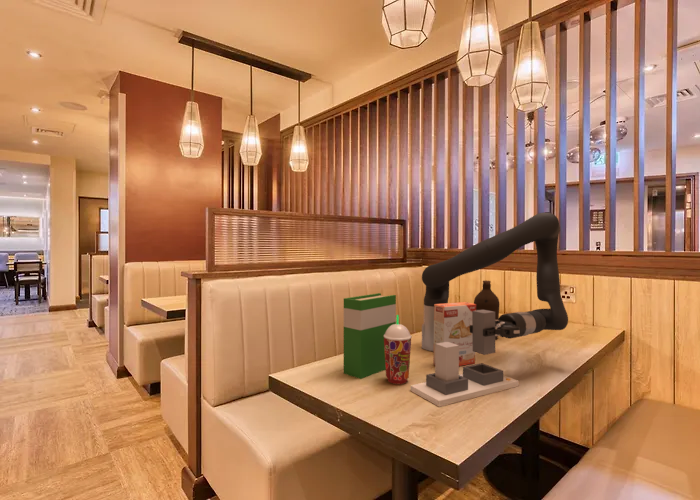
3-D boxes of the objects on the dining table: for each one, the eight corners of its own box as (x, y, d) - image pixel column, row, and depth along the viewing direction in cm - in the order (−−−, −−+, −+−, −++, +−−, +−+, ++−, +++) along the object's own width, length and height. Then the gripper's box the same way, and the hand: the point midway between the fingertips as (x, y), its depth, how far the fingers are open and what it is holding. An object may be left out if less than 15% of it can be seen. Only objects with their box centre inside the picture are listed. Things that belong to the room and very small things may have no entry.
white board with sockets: (410, 390, 108) (410, 343, 108) (486, 373, 122) (486, 331, 122) (439, 406, 98) (439, 354, 97) (518, 385, 112) (518, 339, 112)
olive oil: (504, 340, 164) (504, 281, 164) (480, 341, 162) (481, 282, 162) (491, 334, 175) (491, 279, 174) (469, 335, 173) (469, 279, 172)
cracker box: (444, 369, 126) (444, 306, 126) (432, 364, 131) (432, 303, 131) (476, 364, 132) (477, 303, 132) (464, 359, 137) (464, 301, 137)
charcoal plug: (472, 351, 114) (472, 310, 114) (483, 349, 116) (483, 309, 116) (484, 355, 110) (484, 313, 110) (495, 352, 112) (495, 311, 112)
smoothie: (404, 388, 110) (404, 318, 110) (378, 382, 114) (378, 315, 114) (415, 379, 117) (415, 314, 117) (390, 374, 122) (391, 311, 121)
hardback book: (378, 361, 135) (378, 293, 135) (395, 365, 130) (395, 295, 130) (343, 373, 123) (343, 298, 122) (360, 379, 117) (360, 300, 117)
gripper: (497, 309, 126) (459, 314, 118) (537, 316, 113) (496, 322, 105) (498, 332, 126) (459, 338, 118) (537, 341, 114) (497, 349, 105)
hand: (477, 331), depth 112 cm, fingers closed on charcoal plug, 4 cm apart
